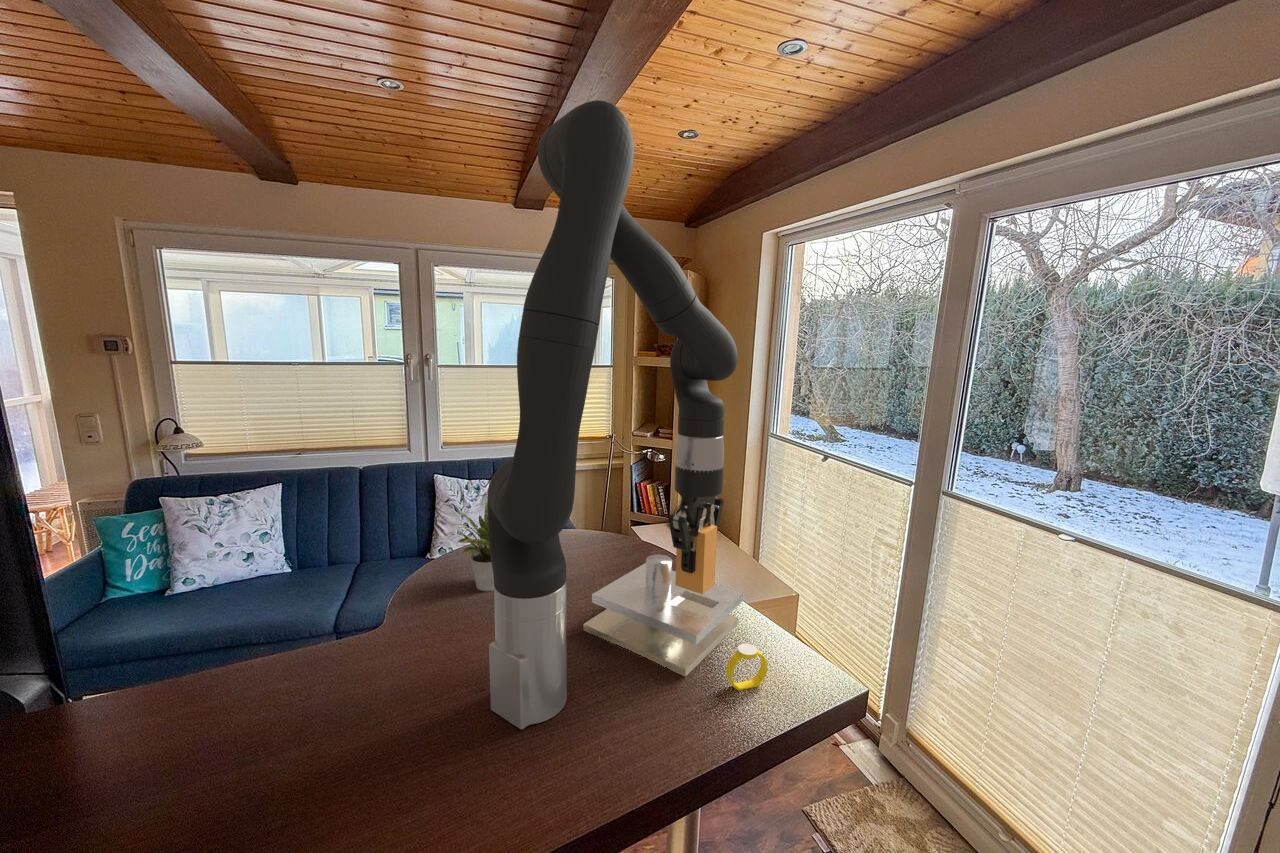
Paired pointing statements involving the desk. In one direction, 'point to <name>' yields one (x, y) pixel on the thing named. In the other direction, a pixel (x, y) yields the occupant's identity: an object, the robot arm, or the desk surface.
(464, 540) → the house plant
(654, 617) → the two-tier square platform
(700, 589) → the orange rectangular prism
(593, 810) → the desk surface
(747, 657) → the watch
